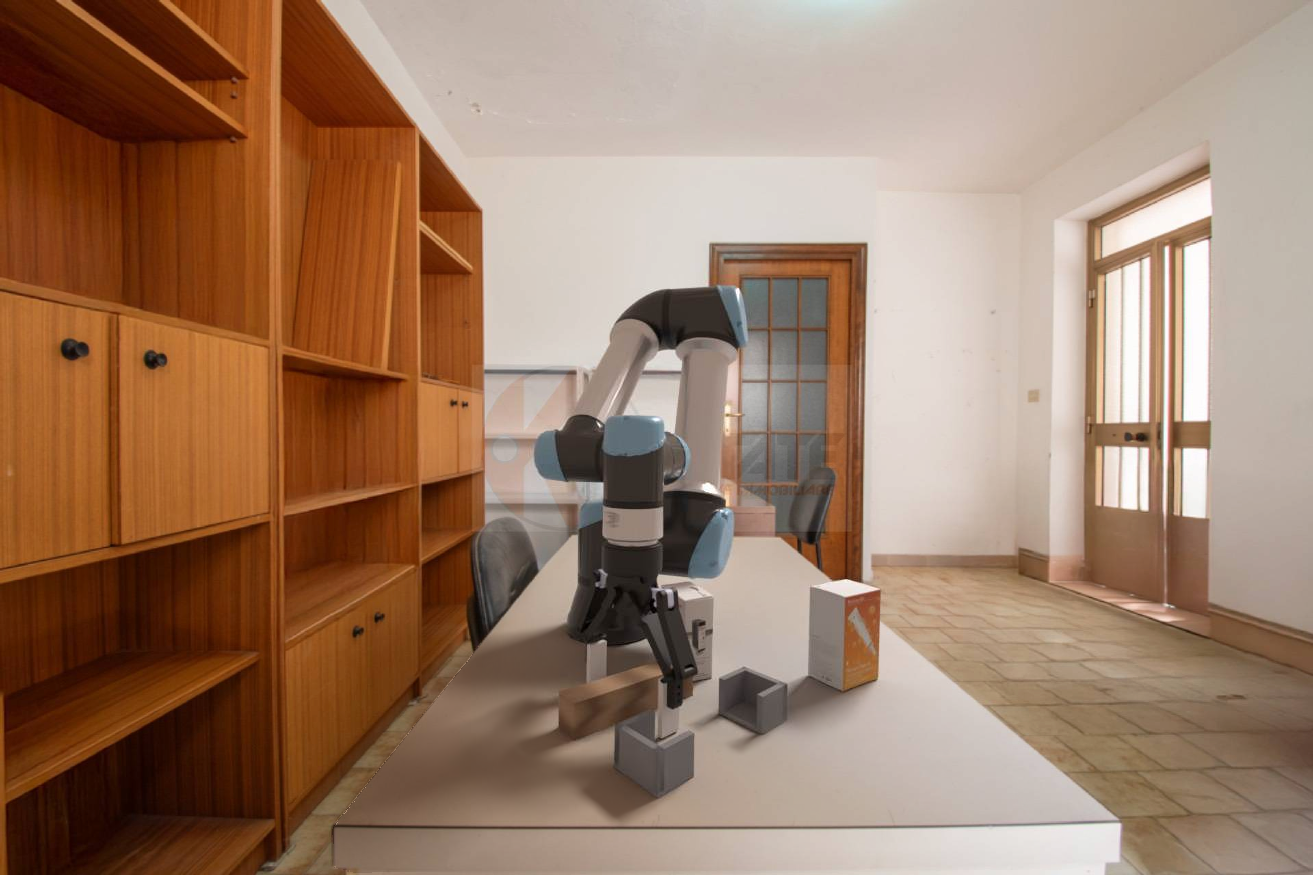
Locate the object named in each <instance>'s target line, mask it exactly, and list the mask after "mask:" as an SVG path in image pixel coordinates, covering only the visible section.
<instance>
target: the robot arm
mask: <svg viewBox="0 0 1313 875" xmlns="http://www.w3.org/2000/svg"><path fill="white" fill-rule="evenodd" d="M748 335H749V334H748V322H747V315H746V308H745V303H744V298H743V294H742V292H741V290H740V288H738V287H737V286H735V285H719V284H715V286H697V287H685V288H684V287H683V288H662V289H657V290H655V291H652V292H650V293H648V294H645V295H644V296H642V297H641V298H639V299H637V301H635V302H634V303H632V304H631V305H630V306H628V307H627V308H626V309H625V310H624V311H623V312H622V314H621V315H620V316H619V317H618V318H617V319H616V321H615V323H614V324H613V327H611V329H610V333H609V335H608V336H609V345H608V347H607V348H606V350H605V352H604V354H603V355H602V357H601V359H600V361H599V363H598V365H597V366H596V368H595V370H594V372H593V374H592V375H591V377H590V379H589V381H588V383H587V385H586V386H585V388H584V390H583V392H582V393H581V396H580V397H579V399H578V401H577V402H576V404H575V406H574V408H573V409H572V412H571V414H570V415H569V417H568V419H567V420H566V422H565V424H564V425H563V427H562V428H561V430H559V429H553V430H546V431H544V432H542V433H540V435H538V437H537V439H536V441H535V444H534V448H533V463H534V466H535V468H536V470H537V473H538V475H539V476H541V477H542V478H543V479H545V480H549V481H558V482H564V483H571V482H572V483H574V482H575V483H601V484H602V483H603V484H602V485H603V486H602V488H603V490H602V493H603V494H602V496H603V497H602V498H596V499H592V500H588V501H586V502H584V503H583V504H581V505H580V508H579V509H578V510H579V511H578V523H577V527H576V528H577V529H576V530H577V587H576V588H575V593H574V596H573V598H572V602H571V606H570V610H569V612H568V613H567V617H566V619H567V620H566V631H567V634H568V635H569V636H571V637H572V638H573V639H575V640H578V641H581V642H584V643H585V658H584V660H585V665H586V681H585V684H586V683H589V682H592V681H595V680H599V679H602V678H605V677H607V654H608V653H607V652H608V651H607V645H622V644H628V643H633V642H637V641H640V640H644V639H645V638H646V640H647V643H648V644H649V647H650V650H651V651H652V653H653V655H654V658H655V660H656V661H657V663H658V665H659V667H660V669H661V671H662V674H663V676H664V677H662V678H659V679H658V709H657V737H659V738H660V739H664V738H666V737H668V736H670V735H671V734H674V733H676V732H677V731H679V730H680V725H679V724H680V707H681V706H683V702H684V699H683V680H685V679H688V678H690V677H692V676H695V675H697V673H698V669H697V665H696V662H695V659H694V655H693V652H692V649H691V646H690V642H689V639H688V636H687V633H686V629H685V626H684V623H683V620H682V616H681V613H680V610H679V602H678V591H677V589H676V588H669V589H661V588H659V585H658V576H660V575H661V576H668V577H669V576H670V577H680V578H688V579H691V580H696V579H709V580H712V579H716V578H718V577H719V576H720V575H721V574H722V573H723V572H724V570H725V567H726V566H727V563H728V561H729V558H730V554H731V551H732V547H733V546H732V545H733V541H734V540H733V539H734V534H735V528H734V527H735V514H734V512H733V510H732V509H731V508H729V507H727V506H726V505H727V499H726V497H725V496H724V495H723V494H722V493H721V492H720V489H719V482H720V480H719V479H720V470H721V457H722V447H723V446H722V445H723V435H724V424H725V423H724V422H725V420H724V419H725V412H726V411H725V410H726V397H727V389H728V375H729V367H730V366H731V364H733V363H734V362H736V360H737V359H738V354H739V352H738V351H739V349H740V350H743V348H747V346H748V342H749V336H748ZM666 350H667V351H668V350H669V351H673V350H674V351H675V355H676V357H677V358H678V359H679V360H680V361H681V362H682V363H681V370H680V377H679V378H680V379H679V387H678V388H679V389H678V395H677V396H678V397H677V398H678V399H677V407H676V415H675V425H674V433H672V432H671V431H670V432H669V431H665V421H664V420H663V418H662V417H661V416H657V415H640V414H639V415H635V414H634V415H633V414H632V415H631V414H630V415H629V414H628V415H627V414H624V413H625V411H626V409H627V407H628V404H629V402H630V400H631V398H632V396H633V394H634V391H635V389H636V387H637V386H638V382H639V381H640V378H641V376H642V374H643V371H644V369H645V368H646V365H647V363H648V362H650V361H651V360H653V359H654V358H655V357H656V356H657V353H658V352H660V351H666ZM671 664H672V666H673V668H672V669H671Z"/></svg>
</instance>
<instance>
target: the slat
mask: <svg viewBox="0 0 1313 875" xmlns="http://www.w3.org/2000/svg"><path fill="white" fill-rule="evenodd" d="M672 668H673V666H672V664H671V669H672ZM662 677H664V676H663V674H662V671H661V669H660V667H659V665H658V663H657V660H656V661H653V662H651V663H647V664H644V665H640V666H637V667H634V668H631V669H628V670H624V671H622V672H618V673H616V674H611V675H609V676H606V677H605V678H602V679H599V680H595V681H592V682H589V683H586V682H585V683H583V684H579V685H577V686H574V687H570V688H568V689H564V690H561V691H559V692H558V724H557V725H558V727H557V728H558V729H559V730H560V731H562V733H564V734H565V735H566V736H567V738H569V739H570V740H571V741H572V742H576V741H577V740H580V739H582V738H585V737H588V736H592V735H593V734H594V735H595V734H596V733H599V732H601V731H604V730H606V729H610V728H613V727H615V725H616V724H618V723H620V722H622V721H624V720H627V719H629V718H631V717H633V716H636V715H638V714H640V713H642V712H644V711H647V710H649V709H651V710H653V711H658V679H659V678H662ZM693 696H694V681H693V676H692V677H690V678H688V679H685V680H683V700H686V699H688V698H690V697H693Z"/></svg>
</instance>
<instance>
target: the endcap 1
mask: <svg viewBox="0 0 1313 875" xmlns="http://www.w3.org/2000/svg"><path fill="white" fill-rule="evenodd" d="M655 742H656V710H654V711H653V710H651V709H649V710H647V711H644V712H642V713H640V714H638V715H636V716H633V717H631V718H629V719H627V720H624V721H622V722H620V723H618V724H616V725H615V726H614V745H613V746H614V748H613V749H614V750H613V751H614V752H613V753H614V754H613V755H614V756H613V757H614V758H613V767H614V768H615V769H616V770H618V771H619V772H620V773H622V774H623V775H625V777H627V778H629V779H630V780H632V781H633V782H635V783H636V784H637V785H639V786H640V787H641V788H643V789H644V790H646V791H647V792H648V793H650V794H651V795H652V796H654V797H656V798H657V799H659V798H661V797H662V796H664V795H666V794H668V793H669V792H671V791H672V790H674V789H675V788H677V787H679V786H680V785H682V784H683V783H686V782H687V781H688V780H690V779H692V778H694V777H695V732H693V731H691V730H690V729H688V730H685V731H684V732H682V733H680V734H678V735H676V736H674V737H672V738H670V739H669V740H667V741H665V742H663V743H661V744H657V743H655Z"/></svg>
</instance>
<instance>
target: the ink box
mask: <svg viewBox="0 0 1313 875" xmlns="http://www.w3.org/2000/svg"><path fill="white" fill-rule="evenodd" d="M669 588H676V589H677V591H678V602H679V610H680V613H681V616H682V620H683V623H684V626H685V629H686V633H687V636H688V639H689V642H690V646H691V649H692V652H693V655H694V659H695V662H696V665H697V669H698V673H697V675H695V676H693V682H695V681H700V680H706V679H712V677H713V646H714V645H713V644H714V642H713V641H714V640H713V639H714V607H715V606H714V602H715V601H714V600H715V598H714V597H715V596H713V595H714V594H712V593H710V592H709V591H707V590H705V589H704V588H702V587H701V586H698V585H697V584H695V583H694V582H692V581H681V582H675V583H668V584H661V585H660V589H669Z"/></svg>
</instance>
